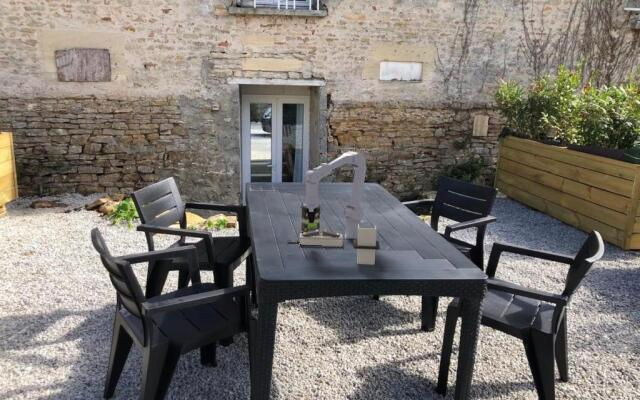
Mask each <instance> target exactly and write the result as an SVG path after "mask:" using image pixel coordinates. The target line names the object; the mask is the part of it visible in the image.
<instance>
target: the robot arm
mask: <svg viewBox="0 0 640 400" xmlns="http://www.w3.org/2000/svg"><path fill="white" fill-rule="evenodd" d="M366 160H367V158H366V157H365V155H364V153H362V152H355V151H352V150H349V151H347V152H344V153H343V154H342V155H340V156H338V157H337V158H335V159H334V160H332V161H331V162H329V163H326V162H322V163H320V165H319V166H317V167H313V169H312V170H311V169H309V170H307V171H306V172H305V174H304V176H303V179H304V181H305V203H303V204H302V205H303V206H306V207H307V208H306V212H307V214H308V220H309V223H314V218H315V214H316V212H317V208H316V207H318V205H319V203H318V201H319V200H318V199H319V195H318V194H319V192H318V191H319V183H320V181H321V180H322V179H323V178H325V177H327V176H328V175H331V174H332V170H334V169H337V168H339V167H341V166H342V165H345V164H347V165H350V166H351V167H352V169H353V170H354V174H353V175H354V176H353V180H352V187H351V192H350V197H349V201H348V202H346V206H345V207H344V209H343V215H344V217H345V233H344V239H349V240H350V239H352V240H354V239H357V235H358V224H359V228H365V221H364V219H363V218H364V212H363V211H364V210H363V209H364V207H363V205H362V203H361V200H362V195H363V189H364V186H365V179H366V173H367V164H366ZM362 219H363V220H362Z"/></svg>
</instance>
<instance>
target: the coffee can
mask: <svg viewBox="0 0 640 400" xmlns="http://www.w3.org/2000/svg"><path fill="white" fill-rule="evenodd" d="M306 208H307V207H306V206H303V204H301V205H300V211H301V212H300V213H301V214H300V232H301V231H303V232H308V231H313V230H317V229H319V231H321V230H320V228H321V205H319V204H318V207H316V208H317V212H316V214H315V218H314V223H309V220H308V214H307V212H306Z"/></svg>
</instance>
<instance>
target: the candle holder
mask: <svg viewBox="0 0 640 400" xmlns="http://www.w3.org/2000/svg"><path fill="white" fill-rule="evenodd" d="M352 243H353V249H355V250H356V263H357V265H375V264H376V263H375V261H376V250H377V251H378V250H380V247H381V246H380V242H379V241H378V240H377V226H376V224H374V228H371V227H370V228H367V227H366V228H365V227H364V228H359V224H358V235H357V239H352Z"/></svg>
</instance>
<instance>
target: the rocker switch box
mask: <svg viewBox="0 0 640 400" xmlns="http://www.w3.org/2000/svg"><path fill="white" fill-rule="evenodd" d="M288 241H297V242H300V243H299V245H300V244H305V245H322V246H321V247H339V248H340V247H343V234H342V233H339V237H330V236H326V235H323V233H320V235H315V236H311V237H303V233H302V232H300V233H299V240H298V239H296V240H295V239H287V242H288Z"/></svg>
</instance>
